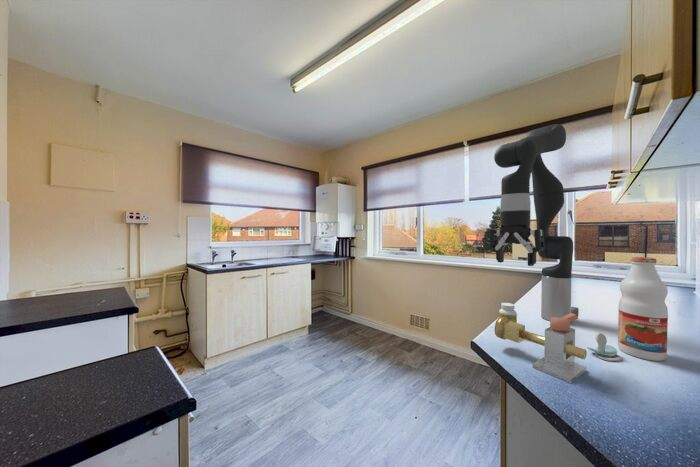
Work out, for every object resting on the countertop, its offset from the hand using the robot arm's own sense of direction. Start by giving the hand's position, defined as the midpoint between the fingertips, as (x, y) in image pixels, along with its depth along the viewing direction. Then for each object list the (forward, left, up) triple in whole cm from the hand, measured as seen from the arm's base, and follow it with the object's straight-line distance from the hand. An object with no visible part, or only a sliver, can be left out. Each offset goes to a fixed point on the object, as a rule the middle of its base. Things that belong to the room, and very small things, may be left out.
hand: (514, 263), depth 76 cm
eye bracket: (+1, +12, -26) cm, 29 cm away
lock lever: (-3, +12, -15) cm, 20 cm away
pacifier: (-18, +16, -26) cm, 35 cm away
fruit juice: (-29, +21, -26) cm, 44 cm away
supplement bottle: (-13, -8, -26) cm, 30 cm away
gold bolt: (+1, +7, -23) cm, 24 cm away
